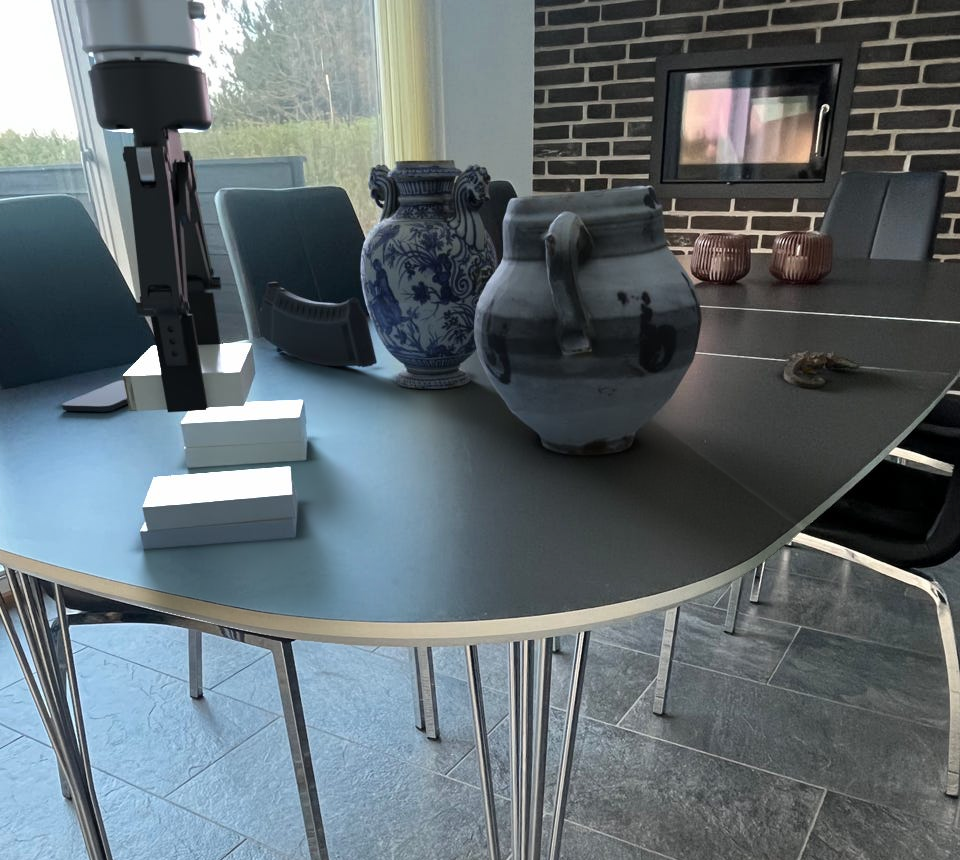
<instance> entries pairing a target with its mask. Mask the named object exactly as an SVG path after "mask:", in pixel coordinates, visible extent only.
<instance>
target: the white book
mask: <svg viewBox="0 0 960 860" xmlns="http://www.w3.org/2000/svg"><path fill="white" fill-rule="evenodd" d="M198 349H199V356H200V362H201V369H202V375H203V381H204V388H205V394H206V400H207V407H208V408H220V407H244V406H245V403H247V401H248V397H249V395H250V391H251V388H252V385H253V382H254V379H255V375H256V366H255V365H256V364H255V358H254V349H253V343H223V344H222V343H221V344H214V345H198ZM122 380H124V385H125V390H126V395H127V400H128V404H127V405H128V410H129V412H139V411H140V412H141V411H164V410H165V411H166V410H167V405H166V400H165V394H164V388H163V383H162V377H161V372H160V366H159V361H158V355H157V350H156V345H152V346H150V348H148V350H146V352H144V354H142V355H141V356H140V357H139V359H138V360H136V362H135V363H133V365H132V366H131V367H130V368H128V370H127V371H126V372H125V373H124V374H123V375H122Z"/></svg>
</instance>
